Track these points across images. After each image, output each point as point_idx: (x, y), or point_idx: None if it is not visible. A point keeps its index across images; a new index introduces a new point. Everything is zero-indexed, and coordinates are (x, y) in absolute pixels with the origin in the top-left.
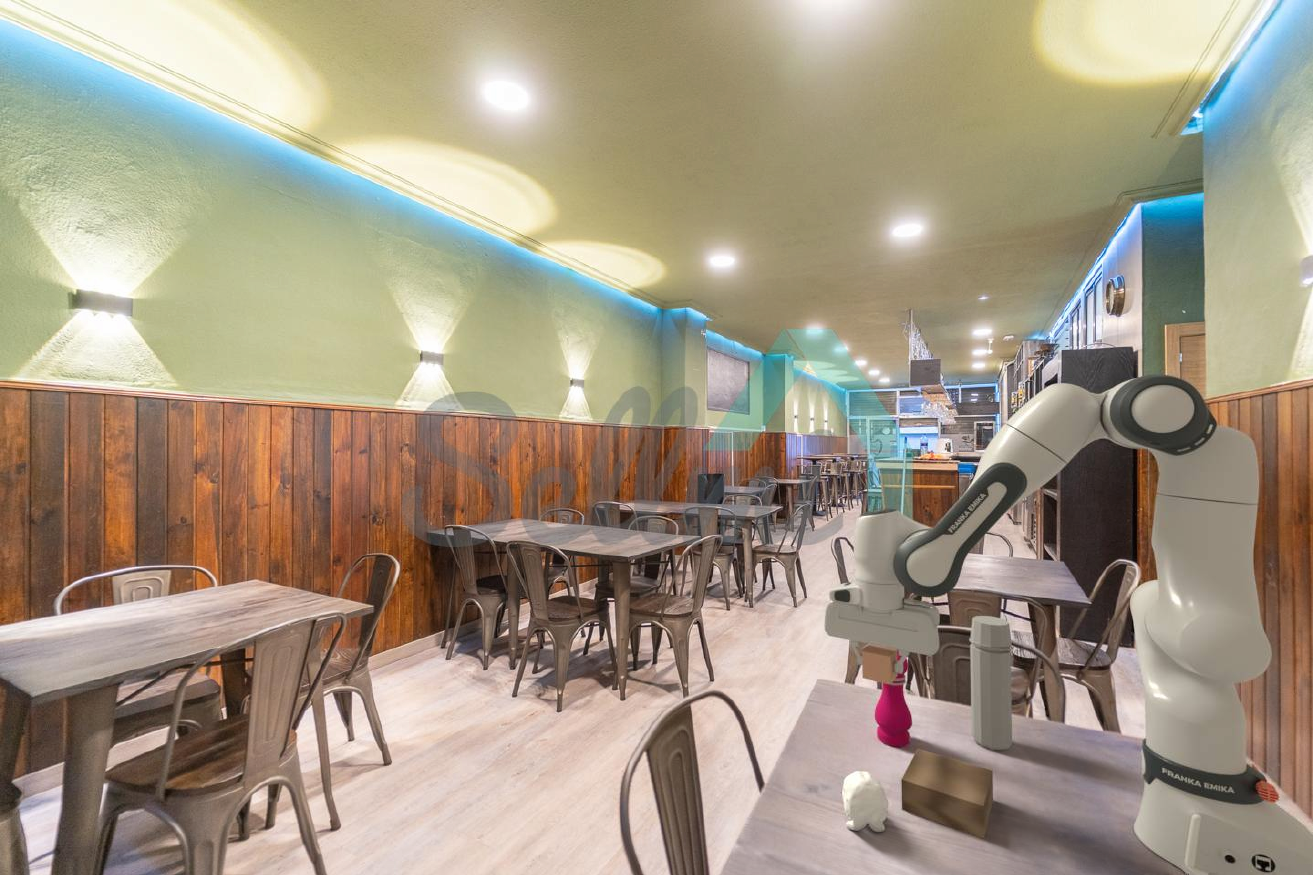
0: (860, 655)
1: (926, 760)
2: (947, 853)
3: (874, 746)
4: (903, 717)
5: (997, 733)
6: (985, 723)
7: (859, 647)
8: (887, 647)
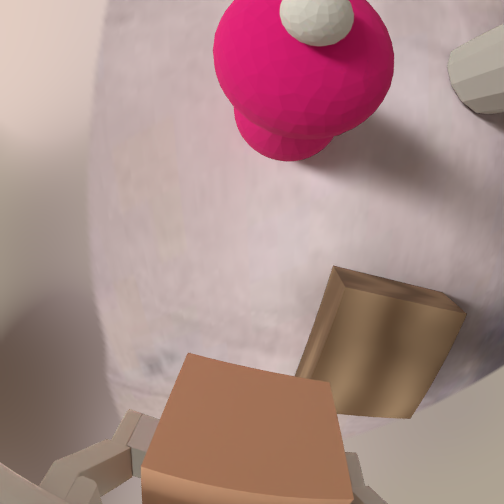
0: (130, 477)
1: (356, 332)
2: (342, 428)
3: (241, 171)
4: (320, 147)
5: (502, 110)
6: (495, 100)
7: (99, 472)
8: (284, 498)
